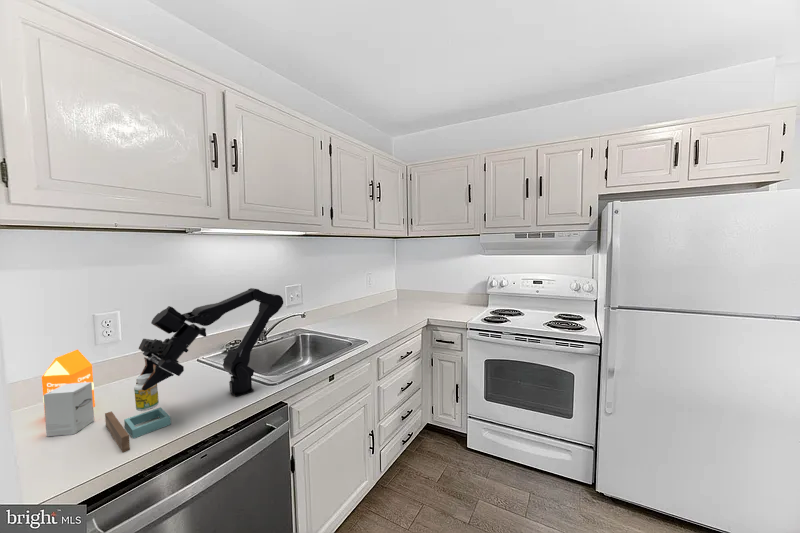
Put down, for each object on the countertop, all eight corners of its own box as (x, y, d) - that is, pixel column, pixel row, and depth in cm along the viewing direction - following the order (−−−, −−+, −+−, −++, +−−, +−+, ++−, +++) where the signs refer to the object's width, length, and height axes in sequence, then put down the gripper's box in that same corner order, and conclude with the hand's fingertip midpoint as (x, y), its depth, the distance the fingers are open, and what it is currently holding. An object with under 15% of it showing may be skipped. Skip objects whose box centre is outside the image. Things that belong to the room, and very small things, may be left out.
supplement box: (75, 434, 91) (72, 392, 91) (45, 437, 90) (41, 394, 89) (95, 420, 99) (92, 381, 98) (67, 422, 97) (64, 383, 97)
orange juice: (44, 422, 98) (39, 359, 96) (69, 408, 106) (64, 349, 105) (73, 420, 99) (69, 357, 98) (95, 406, 108) (91, 348, 106)
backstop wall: (112, 423, 97) (111, 411, 96) (129, 449, 84) (128, 435, 84) (105, 426, 96) (105, 413, 95) (122, 452, 83) (121, 437, 83)
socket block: (161, 414, 102) (160, 407, 102) (170, 424, 96) (170, 416, 96) (124, 427, 95) (124, 419, 95) (132, 438, 89) (132, 430, 89)
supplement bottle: (163, 402, 98) (161, 372, 97) (148, 411, 93) (146, 380, 92) (146, 402, 98) (144, 372, 97) (130, 411, 93) (128, 379, 92)
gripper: (148, 323, 102) (105, 367, 95) (168, 332, 91) (121, 383, 83) (178, 340, 109) (140, 383, 101) (200, 351, 98) (159, 400, 90)
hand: (140, 387), depth 94 cm, fingers closed on supplement bottle, 5 cm apart
